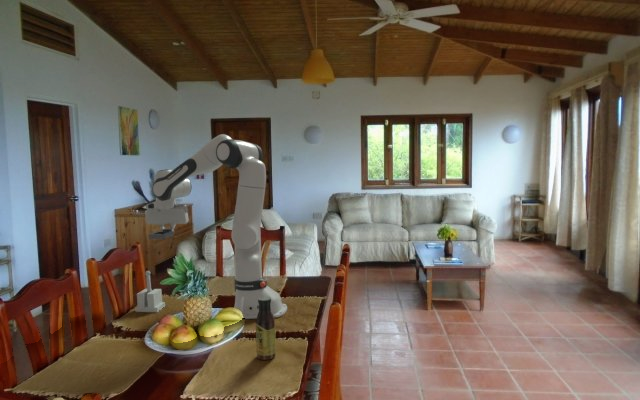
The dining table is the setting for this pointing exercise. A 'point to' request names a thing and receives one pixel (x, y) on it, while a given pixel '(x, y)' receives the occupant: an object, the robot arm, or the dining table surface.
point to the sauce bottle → (265, 330)
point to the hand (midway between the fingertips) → (168, 233)
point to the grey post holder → (149, 298)
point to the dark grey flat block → (162, 234)
